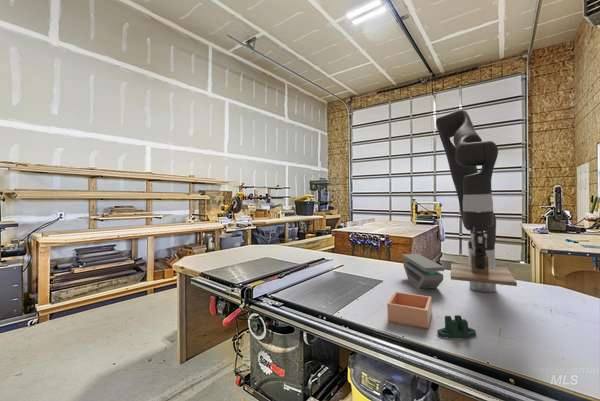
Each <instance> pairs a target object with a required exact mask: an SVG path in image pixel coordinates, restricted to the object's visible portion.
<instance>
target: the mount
mask: <svg viewBox="0 0 600 401" xmlns="http://www.w3.org/2000/svg"><path fill="white" fill-rule="evenodd" d="M436 332H437V334H438V335H439V336H438V335H437V334H436V335H437V336H438V337H440V336H441V337H440V338H443V337H448V338H447V339H450V338H462V339H470V338H473V337H475V335H477V332H476V330H475V329H474V328H471V327H469V322H468V320H466V319H465V318H462V315H459V314H456V315H454V319H453V318H452V316H451V315H445V316H444V327H442V328H440V329H437V331H436Z"/></svg>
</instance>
